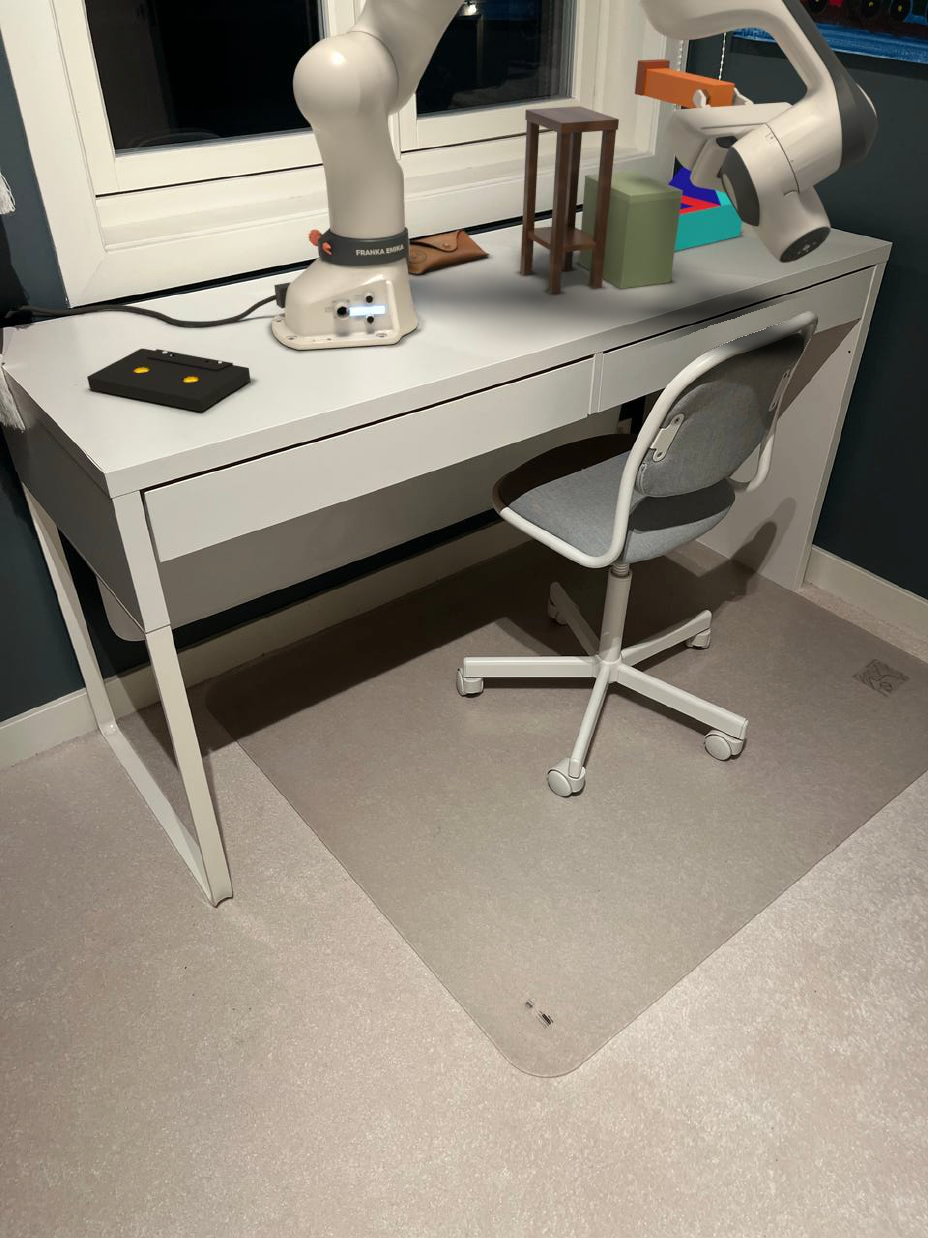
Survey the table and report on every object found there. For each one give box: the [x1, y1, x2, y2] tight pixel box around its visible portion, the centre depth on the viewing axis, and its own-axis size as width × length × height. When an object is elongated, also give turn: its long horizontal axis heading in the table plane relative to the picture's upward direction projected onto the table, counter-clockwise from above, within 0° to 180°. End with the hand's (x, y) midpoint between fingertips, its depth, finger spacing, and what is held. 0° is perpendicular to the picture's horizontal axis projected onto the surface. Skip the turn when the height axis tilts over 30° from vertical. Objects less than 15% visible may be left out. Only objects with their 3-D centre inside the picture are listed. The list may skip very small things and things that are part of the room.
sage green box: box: [578, 170, 683, 290], centre depth 166 cm, size 10×16×15 cm, turn 22°
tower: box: [634, 58, 736, 109], centre depth 141 cm, size 5×20×5 cm, turn 22°
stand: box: [519, 105, 620, 295], centre depth 159 cm, size 10×13×26 cm
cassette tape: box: [86, 348, 251, 412], centre depth 128 cm, size 18×12×2 cm, turn 67°
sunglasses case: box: [408, 228, 490, 275], centre depth 174 cm, size 18×7×7 cm, turn 132°
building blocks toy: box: [667, 165, 743, 252], centre depth 188 cm, size 19×25×18 cm
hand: (713, 92), depth 135 cm, fingers closed on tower, 3 cm apart
